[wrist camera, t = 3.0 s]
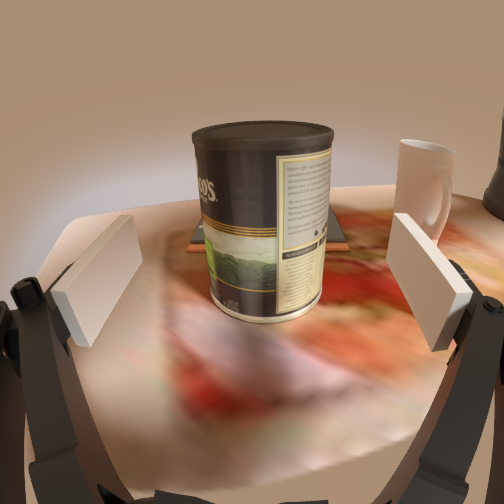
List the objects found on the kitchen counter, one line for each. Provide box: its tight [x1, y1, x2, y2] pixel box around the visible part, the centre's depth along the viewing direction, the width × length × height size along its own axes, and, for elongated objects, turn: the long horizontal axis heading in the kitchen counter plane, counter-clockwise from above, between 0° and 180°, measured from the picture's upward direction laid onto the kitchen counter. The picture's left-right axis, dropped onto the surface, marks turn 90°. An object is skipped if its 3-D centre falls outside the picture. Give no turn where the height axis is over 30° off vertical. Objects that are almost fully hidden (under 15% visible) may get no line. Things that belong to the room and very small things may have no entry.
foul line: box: [187, 243, 349, 252], centre depth 34 cm, size 18×1×1 cm, turn 87°
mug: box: [392, 139, 456, 246], centre depth 30 cm, size 10×7×12 cm, turn 173°
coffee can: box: [192, 121, 334, 324], centre depth 25 cm, size 10×10×14 cm
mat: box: [191, 204, 346, 243], centre depth 40 cm, size 18×11×1 cm, turn 87°
